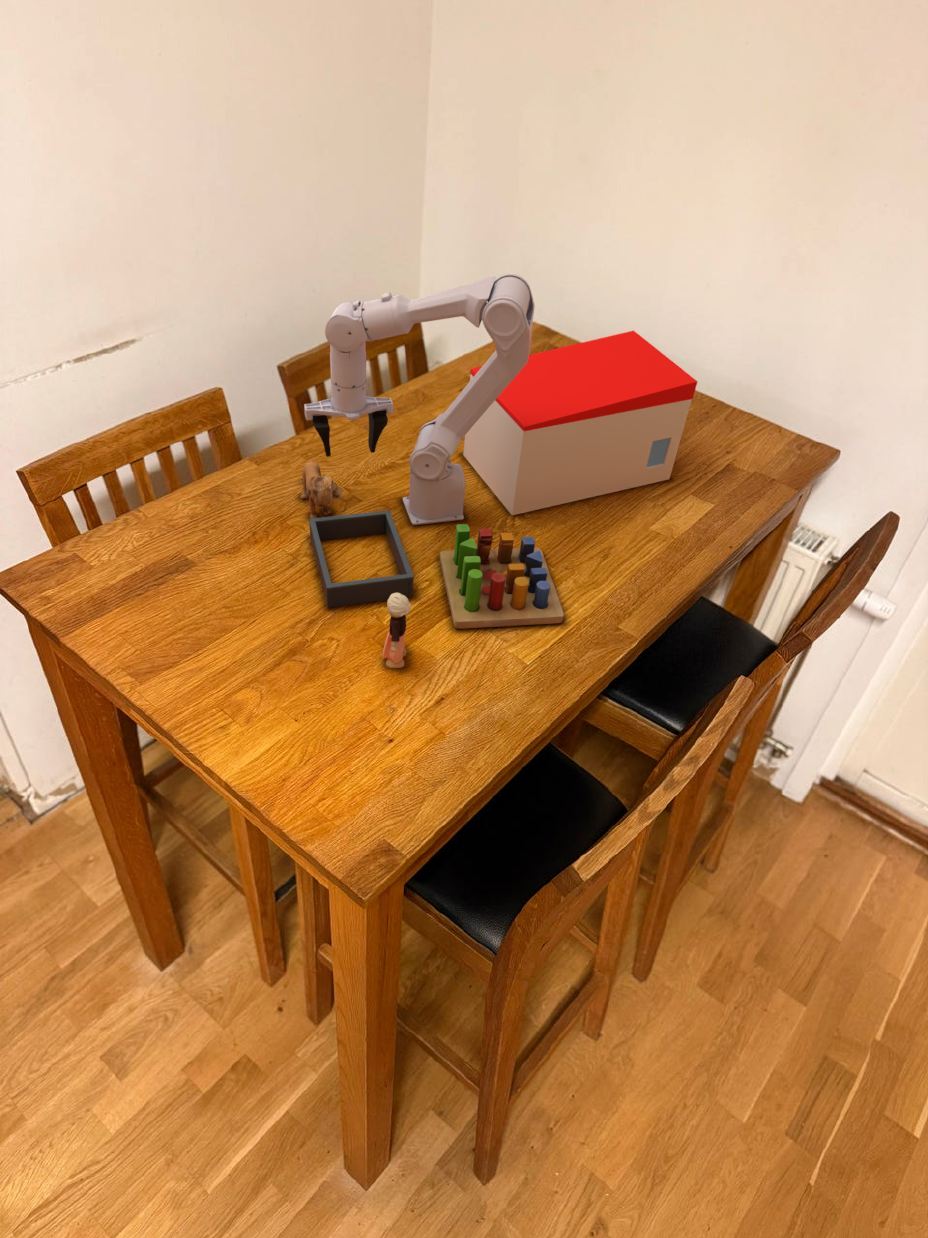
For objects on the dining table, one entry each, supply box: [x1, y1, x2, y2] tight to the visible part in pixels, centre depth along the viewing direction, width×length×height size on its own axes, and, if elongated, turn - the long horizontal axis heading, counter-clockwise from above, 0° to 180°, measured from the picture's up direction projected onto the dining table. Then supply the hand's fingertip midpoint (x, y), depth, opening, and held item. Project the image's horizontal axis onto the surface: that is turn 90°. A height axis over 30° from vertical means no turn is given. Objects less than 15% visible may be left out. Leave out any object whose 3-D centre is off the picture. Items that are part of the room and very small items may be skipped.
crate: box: [308, 509, 415, 609], centre depth 144 cm, size 14×18×4 cm
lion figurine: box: [300, 460, 344, 519], centre depth 154 cm, size 15×5×9 cm, turn 29°
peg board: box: [439, 523, 565, 630], centre depth 141 cm, size 18×17×9 cm
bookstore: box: [462, 330, 699, 516], centre depth 165 cm, size 21×35×21 cm, turn 116°
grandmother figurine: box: [382, 593, 412, 669], centre depth 127 cm, size 8×4×13 cm, turn 5°
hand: (349, 451), depth 152 cm, fingers open, 7 cm apart
